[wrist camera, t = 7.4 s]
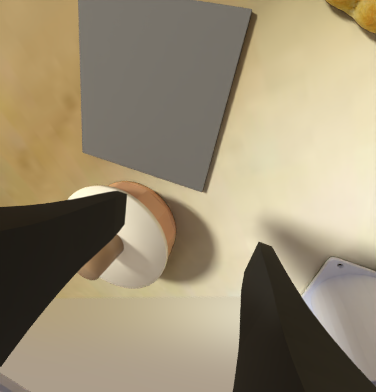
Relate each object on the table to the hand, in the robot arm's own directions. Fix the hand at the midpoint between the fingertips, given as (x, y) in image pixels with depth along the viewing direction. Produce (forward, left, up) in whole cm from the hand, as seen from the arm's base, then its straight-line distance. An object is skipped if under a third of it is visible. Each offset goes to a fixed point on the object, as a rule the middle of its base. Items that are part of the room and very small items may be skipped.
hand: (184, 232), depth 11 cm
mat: (+8, -5, -10) cm, 14 cm away
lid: (+8, +9, -6) cm, 13 cm away
